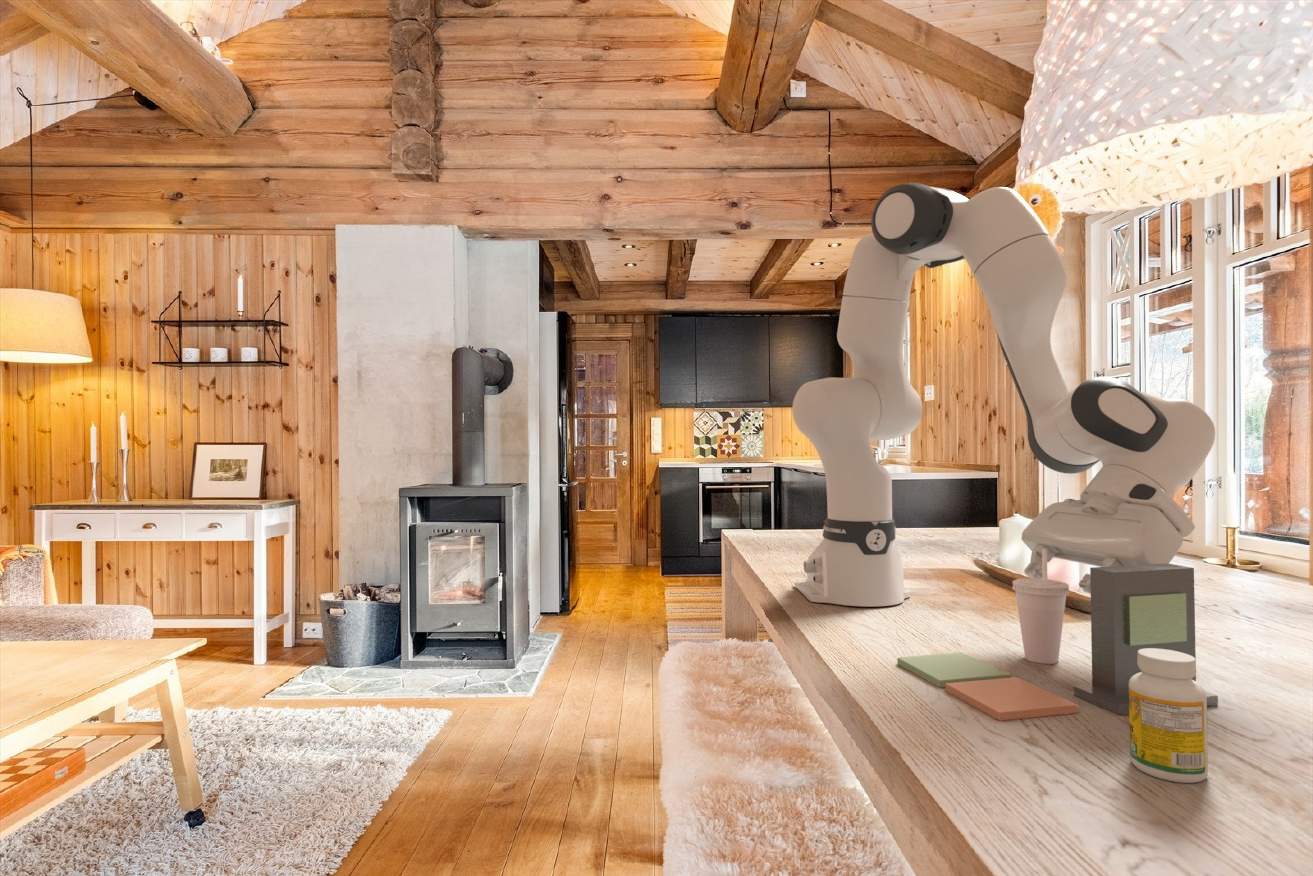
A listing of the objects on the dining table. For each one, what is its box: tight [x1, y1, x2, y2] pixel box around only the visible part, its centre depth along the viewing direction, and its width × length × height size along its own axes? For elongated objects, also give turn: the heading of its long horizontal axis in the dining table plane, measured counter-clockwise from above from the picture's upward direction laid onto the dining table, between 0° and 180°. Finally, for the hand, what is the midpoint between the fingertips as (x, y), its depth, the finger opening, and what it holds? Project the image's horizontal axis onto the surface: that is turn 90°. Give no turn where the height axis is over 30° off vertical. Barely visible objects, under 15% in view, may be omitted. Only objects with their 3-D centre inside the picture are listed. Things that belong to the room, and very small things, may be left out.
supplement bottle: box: [1128, 648, 1209, 784], centre depth 60 cm, size 5×5×10 cm
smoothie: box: [1011, 548, 1070, 665], centre depth 91 cm, size 6×6×14 cm
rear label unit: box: [1073, 563, 1219, 716], centre depth 76 cm, size 6×12×14 cm, turn 102°
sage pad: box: [897, 652, 1011, 688], centre depth 86 cm, size 9×9×1 cm
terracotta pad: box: [944, 676, 1079, 721], centre depth 76 cm, size 9×9×1 cm
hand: (1057, 583), depth 92 cm, fingers open, 8 cm apart
